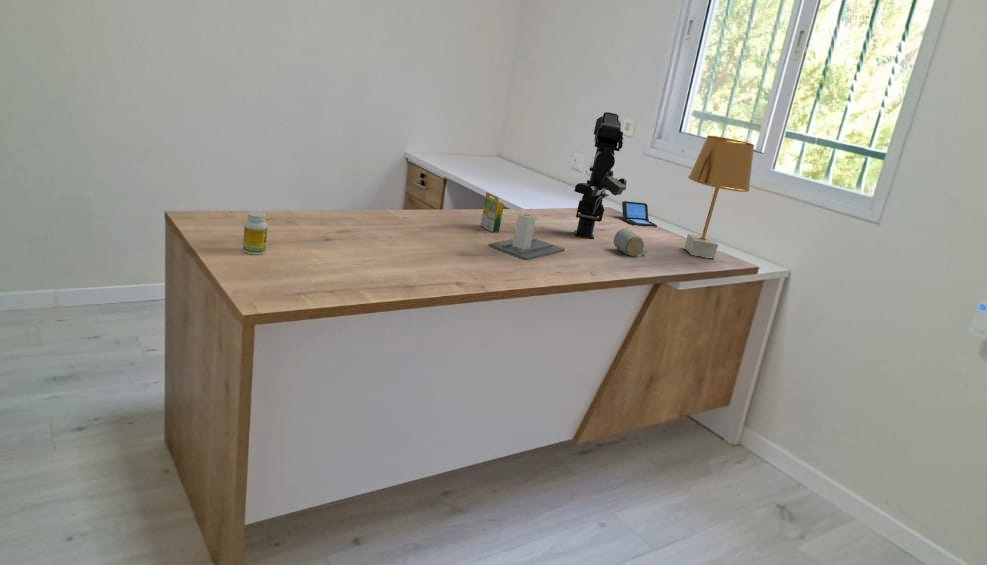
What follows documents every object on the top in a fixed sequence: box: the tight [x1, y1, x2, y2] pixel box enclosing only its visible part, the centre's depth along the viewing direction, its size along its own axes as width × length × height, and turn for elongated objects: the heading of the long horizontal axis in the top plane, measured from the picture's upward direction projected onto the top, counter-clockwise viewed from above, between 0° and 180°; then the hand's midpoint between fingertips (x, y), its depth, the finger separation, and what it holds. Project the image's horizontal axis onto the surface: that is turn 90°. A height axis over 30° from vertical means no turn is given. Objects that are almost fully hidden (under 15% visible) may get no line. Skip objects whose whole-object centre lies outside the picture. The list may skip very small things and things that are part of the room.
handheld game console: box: [621, 200, 658, 228], centre depth 279 cm, size 12×11×7 cm
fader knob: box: [512, 212, 537, 249], centre depth 210 cm, size 4×4×10 cm
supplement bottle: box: [242, 211, 268, 256], centre depth 167 cm, size 5×5×10 cm
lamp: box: [684, 135, 755, 259], centre depth 240 cm, size 21×21×41 cm
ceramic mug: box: [613, 227, 647, 257], centre depth 230 cm, size 11×8×8 cm
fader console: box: [487, 236, 566, 261], centre depth 214 cm, size 22×14×1 cm, turn 143°
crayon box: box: [480, 191, 505, 233], centre depth 227 cm, size 7×3×12 cm, turn 34°
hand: (591, 214), depth 220 cm, fingers closed
